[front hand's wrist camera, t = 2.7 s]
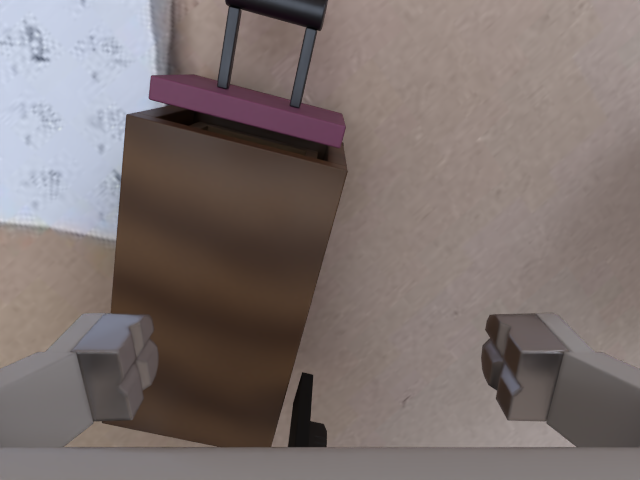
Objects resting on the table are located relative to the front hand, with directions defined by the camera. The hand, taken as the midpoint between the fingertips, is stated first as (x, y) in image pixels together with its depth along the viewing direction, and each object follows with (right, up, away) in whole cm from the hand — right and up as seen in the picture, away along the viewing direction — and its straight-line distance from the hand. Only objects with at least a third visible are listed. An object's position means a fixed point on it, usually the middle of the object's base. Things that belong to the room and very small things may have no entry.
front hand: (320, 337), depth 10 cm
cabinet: (-6, +1, +23) cm, 24 cm away
